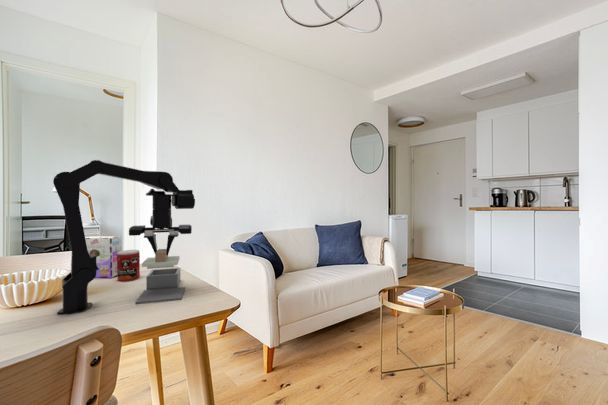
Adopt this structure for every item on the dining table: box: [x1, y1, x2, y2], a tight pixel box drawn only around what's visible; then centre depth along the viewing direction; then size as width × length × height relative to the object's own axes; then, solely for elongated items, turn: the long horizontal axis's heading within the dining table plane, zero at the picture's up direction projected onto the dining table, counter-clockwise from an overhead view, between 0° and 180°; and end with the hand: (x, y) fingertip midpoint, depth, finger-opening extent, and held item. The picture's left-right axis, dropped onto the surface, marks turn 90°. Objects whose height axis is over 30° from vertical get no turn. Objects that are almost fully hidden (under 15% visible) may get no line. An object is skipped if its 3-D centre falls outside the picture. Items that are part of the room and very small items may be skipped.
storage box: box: [145, 267, 181, 290], centre depth 109 cm, size 10×10×5 cm
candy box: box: [85, 235, 122, 279], centre depth 122 cm, size 14×6×16 cm, turn 84°
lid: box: [141, 248, 181, 270], centre depth 100 cm, size 10×10×5 cm
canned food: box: [116, 249, 141, 282], centre depth 118 cm, size 8×8×11 cm
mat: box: [134, 286, 186, 305], centre depth 97 cm, size 12×13×1 cm
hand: (161, 255), depth 100 cm, fingers closed on lid, 3 cm apart
